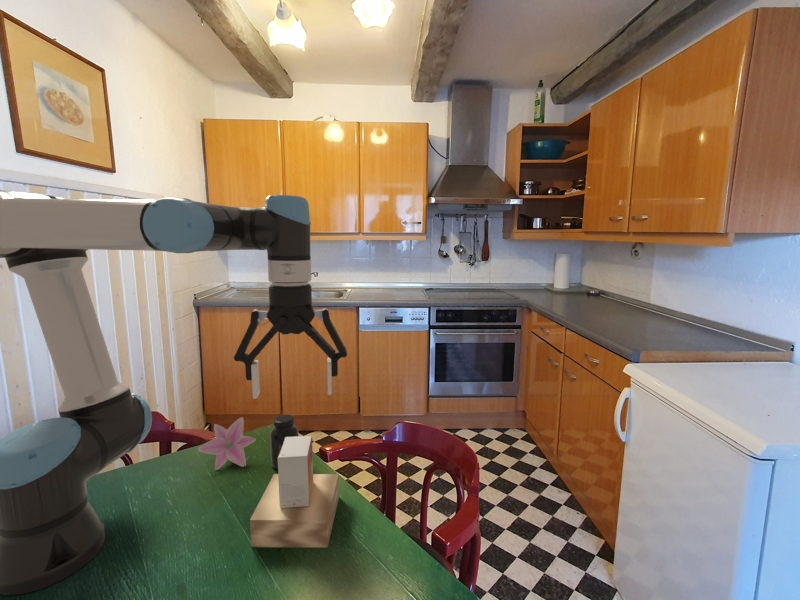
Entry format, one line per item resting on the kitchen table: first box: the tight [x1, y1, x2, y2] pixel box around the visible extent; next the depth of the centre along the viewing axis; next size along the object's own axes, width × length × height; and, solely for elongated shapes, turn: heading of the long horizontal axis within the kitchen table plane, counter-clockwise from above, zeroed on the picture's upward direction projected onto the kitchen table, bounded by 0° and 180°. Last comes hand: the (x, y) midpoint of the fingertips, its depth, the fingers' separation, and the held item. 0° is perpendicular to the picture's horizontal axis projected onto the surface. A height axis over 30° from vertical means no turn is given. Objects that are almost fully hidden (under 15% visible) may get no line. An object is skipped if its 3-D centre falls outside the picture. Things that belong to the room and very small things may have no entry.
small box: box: [277, 435, 314, 508], centre depth 77 cm, size 8×6×10 cm
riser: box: [249, 473, 340, 548], centre depth 78 cm, size 14×14×6 cm
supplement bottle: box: [269, 413, 300, 470], centre depth 97 cm, size 7×7×12 cm
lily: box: [197, 416, 257, 471], centre depth 99 cm, size 12×12×10 cm
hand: (293, 394), depth 74 cm, fingers open, 13 cm apart
